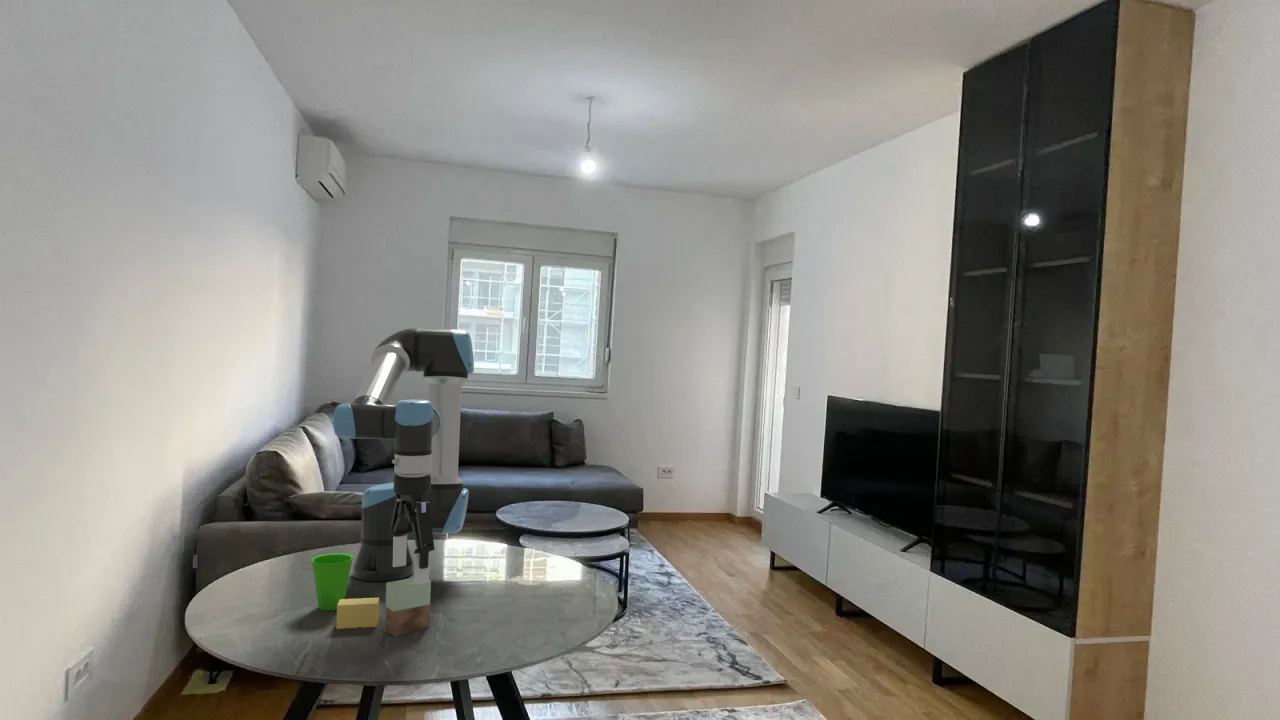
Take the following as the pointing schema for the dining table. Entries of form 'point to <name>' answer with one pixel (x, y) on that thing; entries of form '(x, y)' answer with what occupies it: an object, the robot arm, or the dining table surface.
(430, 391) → the robot arm
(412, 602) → the sage brick
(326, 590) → the cup
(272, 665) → the dining table surface
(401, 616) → the walnut brick
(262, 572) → the dining table surface
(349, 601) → the mustard brick
